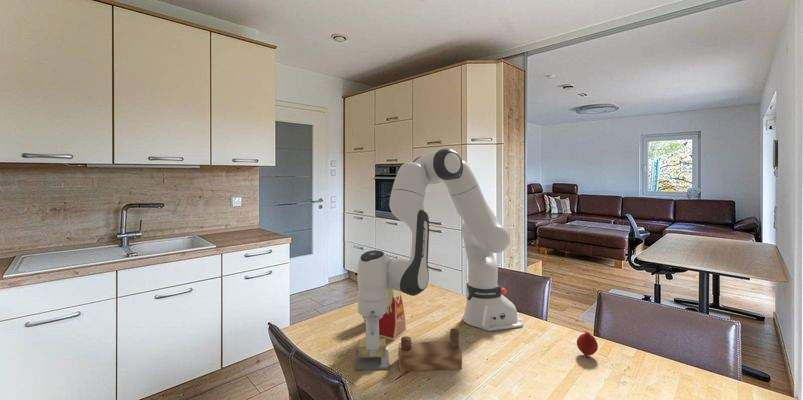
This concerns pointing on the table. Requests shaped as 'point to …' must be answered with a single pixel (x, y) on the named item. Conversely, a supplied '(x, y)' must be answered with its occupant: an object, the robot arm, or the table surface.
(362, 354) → the wooden block
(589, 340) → the onion
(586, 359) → the table surface
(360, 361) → the mat
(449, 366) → the plane body
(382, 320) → the milk carton
